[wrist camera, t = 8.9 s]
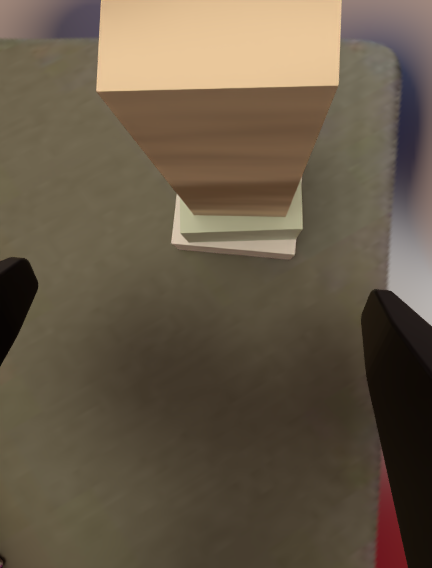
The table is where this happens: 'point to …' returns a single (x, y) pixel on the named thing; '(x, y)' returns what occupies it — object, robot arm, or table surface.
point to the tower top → (242, 225)
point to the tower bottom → (234, 244)
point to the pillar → (222, 93)
